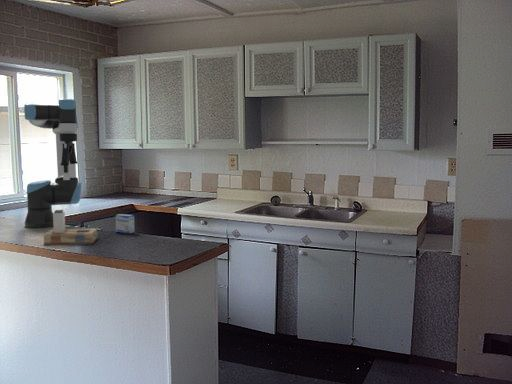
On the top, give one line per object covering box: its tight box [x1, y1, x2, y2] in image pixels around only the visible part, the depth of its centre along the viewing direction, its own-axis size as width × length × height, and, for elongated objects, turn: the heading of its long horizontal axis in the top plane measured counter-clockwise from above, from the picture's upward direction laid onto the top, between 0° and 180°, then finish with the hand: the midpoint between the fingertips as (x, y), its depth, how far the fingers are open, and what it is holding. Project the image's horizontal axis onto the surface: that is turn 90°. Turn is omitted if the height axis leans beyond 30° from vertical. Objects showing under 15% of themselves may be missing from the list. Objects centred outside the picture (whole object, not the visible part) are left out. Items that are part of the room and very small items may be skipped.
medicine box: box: [115, 213, 135, 234], centre depth 256 cm, size 8×4×9 cm, turn 70°
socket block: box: [43, 227, 98, 246], centre depth 234 cm, size 14×20×5 cm
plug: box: [52, 209, 66, 233], centre depth 233 cm, size 4×4×13 cm
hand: (69, 178), depth 246 cm, fingers open, 13 cm apart
